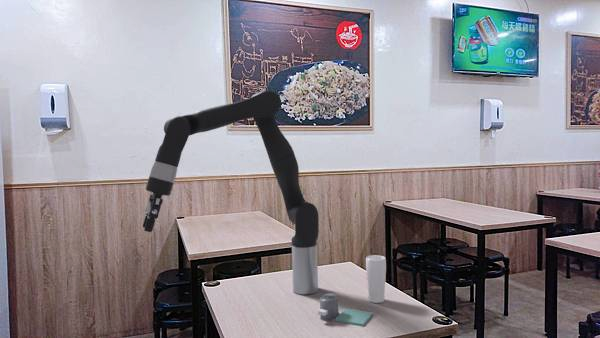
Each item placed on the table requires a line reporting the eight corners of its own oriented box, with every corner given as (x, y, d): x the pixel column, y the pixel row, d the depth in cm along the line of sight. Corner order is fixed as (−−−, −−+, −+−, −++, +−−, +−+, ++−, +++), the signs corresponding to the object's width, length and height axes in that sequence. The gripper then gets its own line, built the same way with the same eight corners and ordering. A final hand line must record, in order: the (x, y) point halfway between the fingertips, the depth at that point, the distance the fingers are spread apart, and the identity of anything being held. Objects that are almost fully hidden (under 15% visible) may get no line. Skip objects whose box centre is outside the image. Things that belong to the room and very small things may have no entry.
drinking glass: (390, 300, 141) (389, 257, 140) (379, 306, 136) (378, 261, 135) (373, 295, 146) (372, 253, 145) (362, 301, 141) (361, 258, 140)
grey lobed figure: (328, 310, 134) (327, 292, 134) (340, 312, 132) (340, 294, 132) (315, 321, 126) (314, 302, 125) (328, 324, 124) (328, 304, 123)
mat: (346, 309, 134) (346, 308, 134) (372, 314, 130) (372, 312, 130) (335, 320, 126) (335, 318, 126) (363, 326, 122) (363, 324, 122)
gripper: (177, 182, 122) (161, 235, 121) (171, 180, 135) (157, 229, 134) (151, 175, 119) (135, 230, 118) (148, 174, 132) (133, 223, 131)
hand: (146, 229), depth 126 cm, fingers open, 8 cm apart
